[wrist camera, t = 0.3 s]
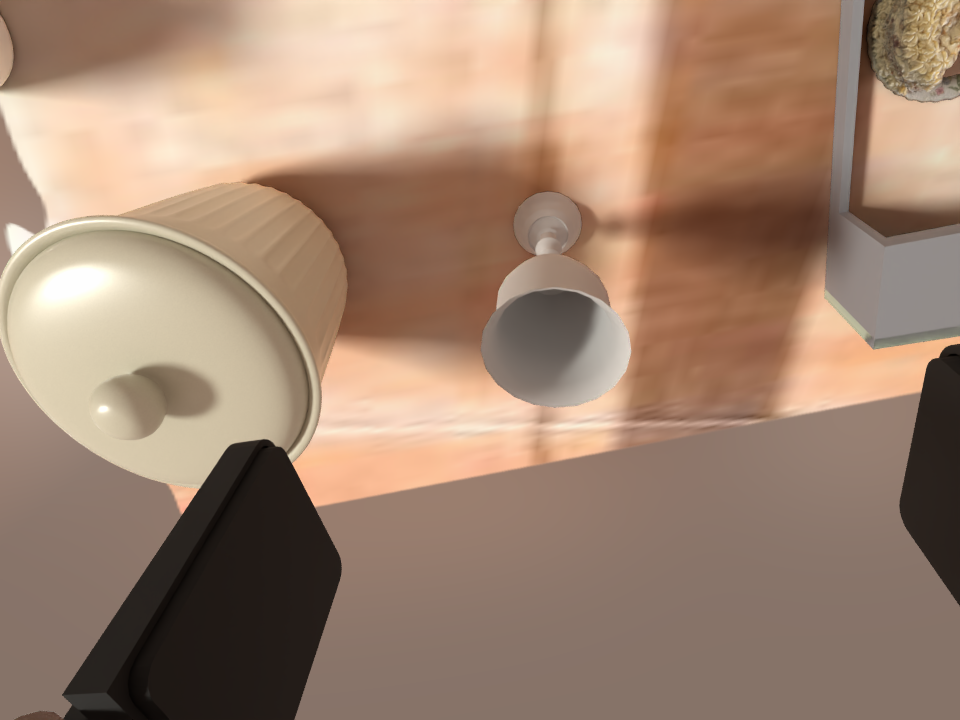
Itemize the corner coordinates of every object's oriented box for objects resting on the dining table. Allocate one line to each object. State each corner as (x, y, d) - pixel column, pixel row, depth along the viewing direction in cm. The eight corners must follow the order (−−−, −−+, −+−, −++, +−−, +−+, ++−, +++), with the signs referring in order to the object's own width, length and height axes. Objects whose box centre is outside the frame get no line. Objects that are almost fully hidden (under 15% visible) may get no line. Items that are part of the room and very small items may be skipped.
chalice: (611, 195, 42) (655, 312, 27) (577, 278, 46) (600, 422, 31) (513, 166, 42) (502, 268, 26) (487, 252, 45) (465, 386, 30)
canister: (406, 343, 50) (337, 538, 32) (214, 365, 53) (53, 555, 35) (345, 122, 41) (201, 225, 23) (115, 163, 44) (-171, 282, 26)
